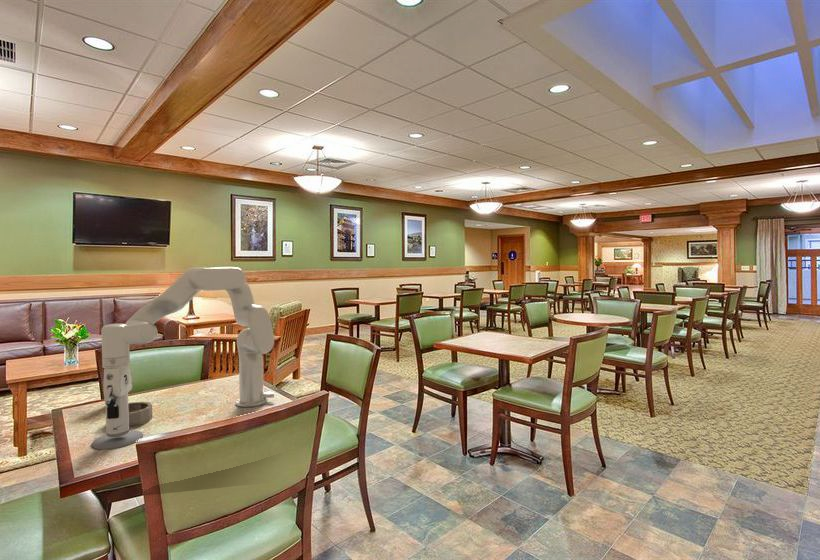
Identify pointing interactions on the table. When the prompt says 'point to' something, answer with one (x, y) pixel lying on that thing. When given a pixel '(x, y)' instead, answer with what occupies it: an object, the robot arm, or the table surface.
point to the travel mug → (122, 422)
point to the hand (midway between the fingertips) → (118, 413)
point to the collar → (139, 413)
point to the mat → (117, 440)
